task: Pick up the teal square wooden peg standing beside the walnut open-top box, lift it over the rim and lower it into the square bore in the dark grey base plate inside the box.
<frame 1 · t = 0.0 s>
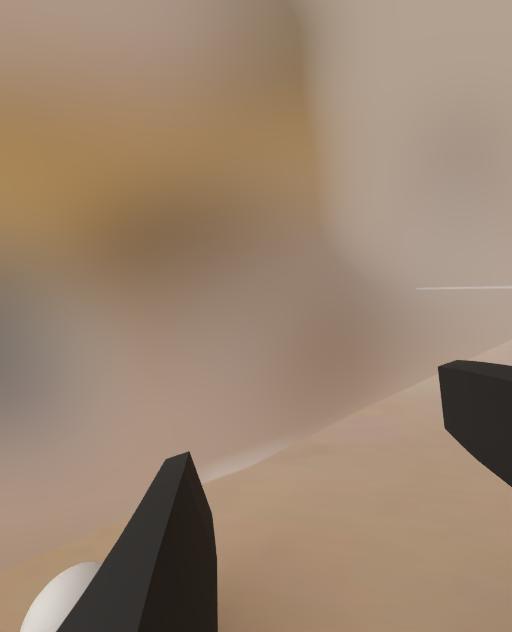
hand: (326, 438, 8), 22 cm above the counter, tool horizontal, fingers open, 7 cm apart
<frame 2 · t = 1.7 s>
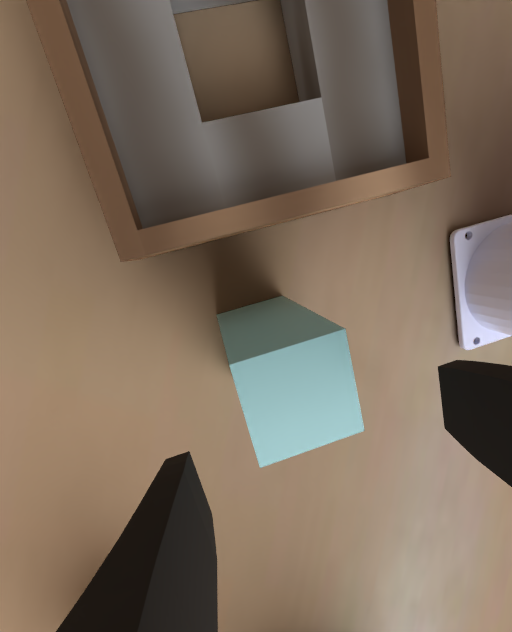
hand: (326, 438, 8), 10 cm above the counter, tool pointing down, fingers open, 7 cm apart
peg: (258, 336, 18), on the counter
bore box: (239, 71, 15), on the counter
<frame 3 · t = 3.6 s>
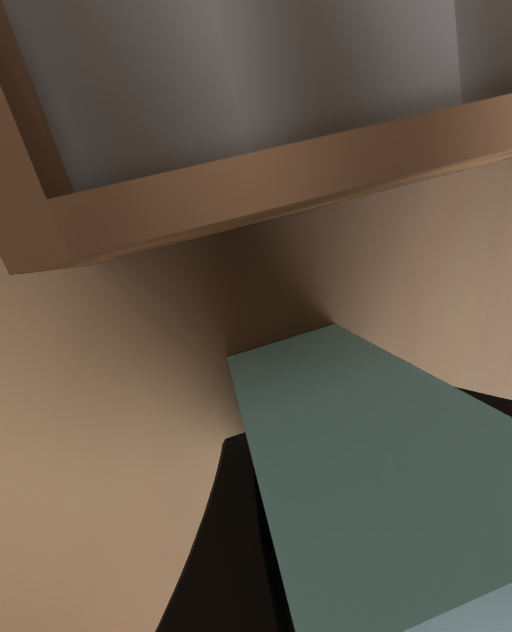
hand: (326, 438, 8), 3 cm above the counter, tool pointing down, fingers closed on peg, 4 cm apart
peg: (294, 390, 11), on the counter, touching gripper
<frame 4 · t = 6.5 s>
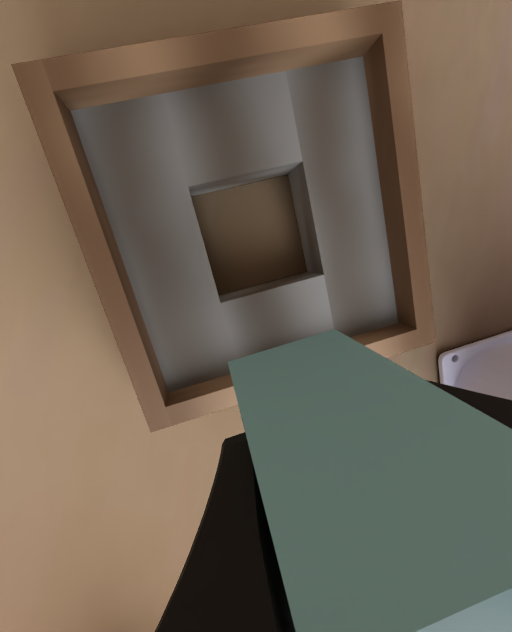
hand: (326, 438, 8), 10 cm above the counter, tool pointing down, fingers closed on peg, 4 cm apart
peg: (294, 394, 11), point 7 cm above the counter, touching gripper
bore box: (252, 236, 17), on the counter
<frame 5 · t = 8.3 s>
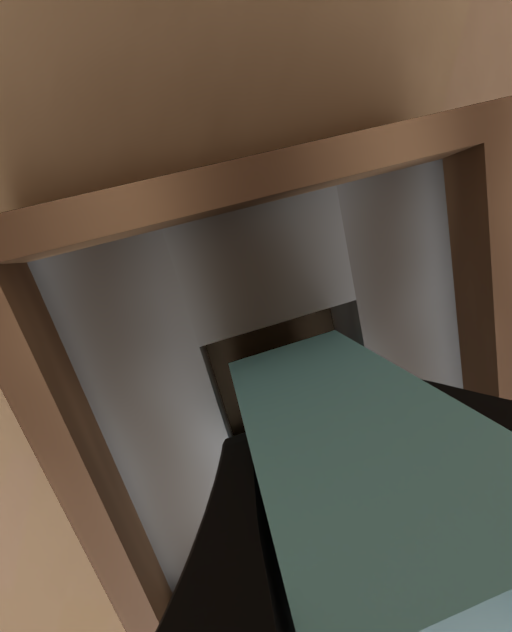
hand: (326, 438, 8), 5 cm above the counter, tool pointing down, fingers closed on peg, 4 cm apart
peg: (295, 395, 11), point 2 cm above the counter, touching gripper
bore box: (280, 369, 13), on the counter
when the fingers open (4 cm above the counter, at t = 9.5 s): peg stays where it is, resting in bore box.
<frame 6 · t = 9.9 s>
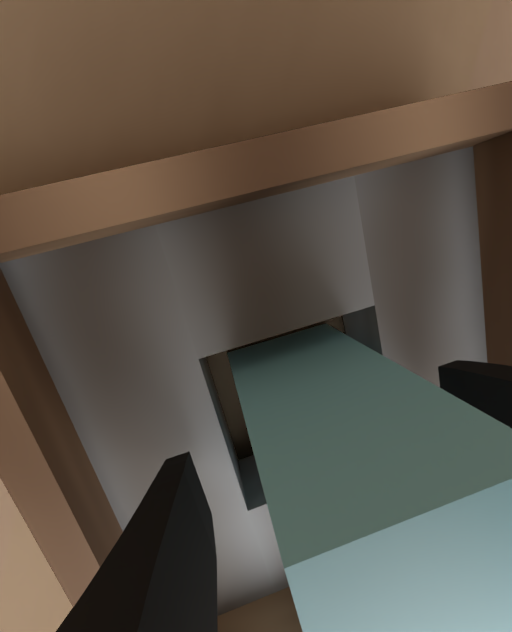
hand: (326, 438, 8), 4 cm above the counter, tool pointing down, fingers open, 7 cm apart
peg: (288, 384, 12), resting in bore box
bore box: (286, 379, 12), on the counter
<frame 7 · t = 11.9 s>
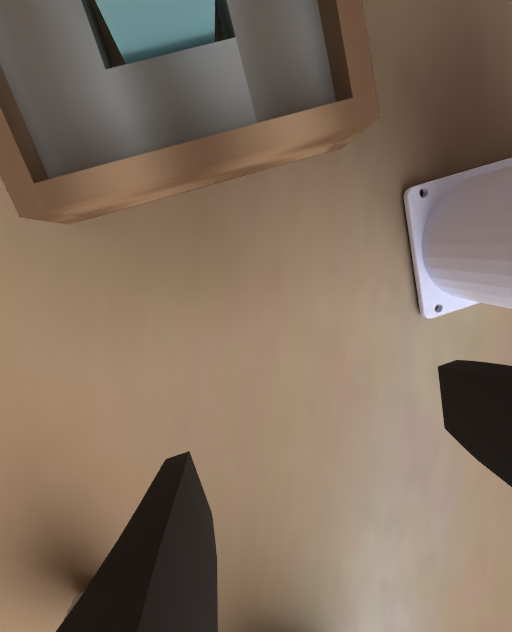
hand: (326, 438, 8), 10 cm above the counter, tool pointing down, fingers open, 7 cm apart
peg: (161, 24, 14), resting in bore box
bore box: (158, 18, 14), on the counter
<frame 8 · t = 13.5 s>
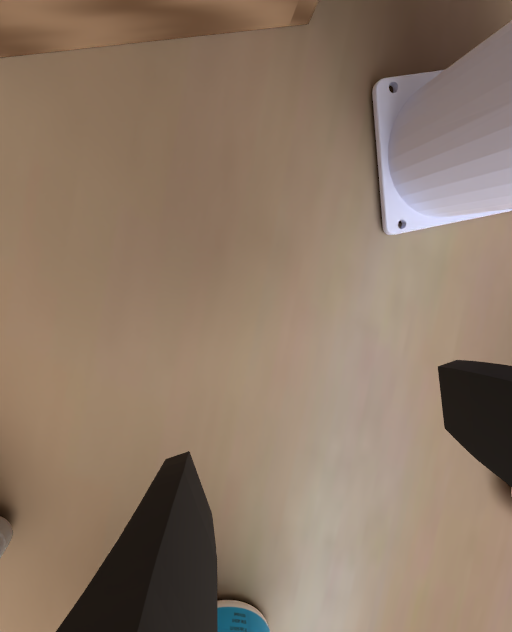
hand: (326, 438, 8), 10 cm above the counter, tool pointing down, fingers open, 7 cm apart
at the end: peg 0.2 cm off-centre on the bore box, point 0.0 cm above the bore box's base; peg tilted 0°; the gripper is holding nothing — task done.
